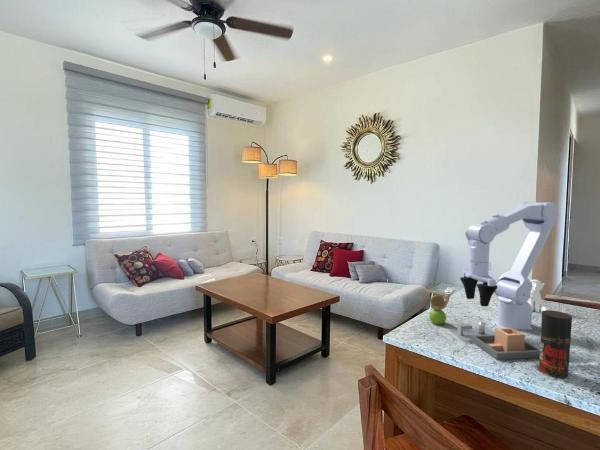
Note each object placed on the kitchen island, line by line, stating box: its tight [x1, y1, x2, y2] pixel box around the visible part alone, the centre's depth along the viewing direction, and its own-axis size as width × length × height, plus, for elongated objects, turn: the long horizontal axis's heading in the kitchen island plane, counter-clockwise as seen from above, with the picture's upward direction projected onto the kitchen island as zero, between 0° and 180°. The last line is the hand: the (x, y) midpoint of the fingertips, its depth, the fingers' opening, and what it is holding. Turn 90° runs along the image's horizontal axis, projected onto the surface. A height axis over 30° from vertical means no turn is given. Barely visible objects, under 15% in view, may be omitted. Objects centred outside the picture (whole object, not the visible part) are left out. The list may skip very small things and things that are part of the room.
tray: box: [470, 335, 540, 361], centre depth 96 cm, size 14×12×2 cm
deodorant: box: [538, 309, 573, 379], centre depth 84 cm, size 6×6×15 cm
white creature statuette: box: [527, 279, 549, 314], centre depth 131 cm, size 10×9×12 cm
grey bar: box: [457, 321, 486, 336], centre depth 107 cm, size 8×2×4 cm, turn 95°
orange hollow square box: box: [488, 327, 526, 351], centre depth 96 cm, size 9×5×5 cm, turn 95°
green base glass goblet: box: [429, 290, 451, 326], centre depth 116 cm, size 5×6×12 cm
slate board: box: [447, 326, 495, 342], centre depth 107 cm, size 14×9×1 cm, turn 95°
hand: (477, 302), depth 109 cm, fingers open, 7 cm apart
